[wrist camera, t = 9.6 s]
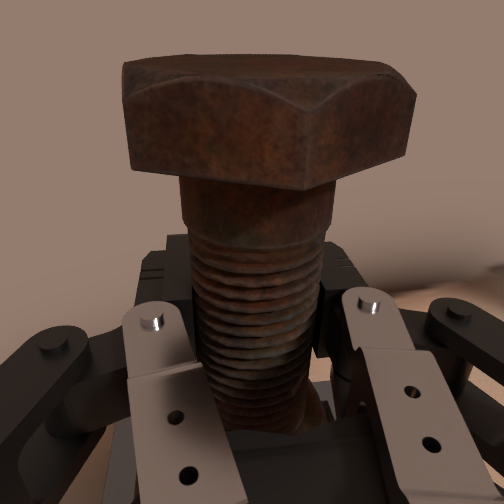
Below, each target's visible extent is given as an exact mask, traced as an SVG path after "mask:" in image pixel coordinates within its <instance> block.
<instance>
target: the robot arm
mask: <svg viewBox="0 0 504 504" xmlns="http://www.w3.org/2000/svg"><path fill="white" fill-rule="evenodd" d="M188 238H189V236H188V234H176V235H167V243H166V250H163V251H151V252H150V253H149V254H148V255H147V256H146V257H145V258H144V259H143V260H142V265H141V272H140V277H139V282H138V288H137V293H136V299H135V305H134V307H133V308H132V309H130V310H129V311H128V312H127V313H126V314H125V316H124V317H123V320H122V325H121V326H120V327H118V328H116V329H115V330H112V331H110V332H107V333H104V334H101V335H97V336H94V337H90V338H88V337H87V334H86V333H85V331H84V330H82V329H81V328H78V327H75V326H56V327H52V328H49V329H46V330H43V331H41V332H39V333H37V334H35V335H34V336H32V337H31V338H30V339H28V340H27V341H26V342H25V343H24V344H23V345H22V346H21V347H20V348H19V349H17V350H16V351H15V352H14V353H13V354H12V355H11V356H10V357H9V358H8V359H7V360H6V361H4V362H3V363H2V364H1V365H0V504H58V503H59V502H60V500H61V499H62V497H63V496H64V494H65V492H66V491H67V489H68V488H69V486H70V485H71V483H72V482H73V480H74V479H75V477H76V476H77V474H78V472H79V471H80V469H81V468H82V466H83V465H84V463H85V462H86V460H87V459H88V457H89V456H90V454H91V452H92V451H93V449H94V448H95V446H96V445H97V443H98V442H99V440H100V439H101V437H102V436H103V434H104V432H105V430H106V427H107V425H110V424H112V423H115V422H117V421H120V420H122V419H125V418H128V417H130V416H131V421H132V430H133V439H134V447H135V456H136V465H137V474H138V483H139V494H138V495H137V496H136V497H135V499H134V500H133V501H132V503H131V504H504V489H503V488H502V487H500V486H499V485H497V484H496V483H494V482H493V481H492V479H491V476H490V474H489V472H488V470H487V468H486V466H485V464H484V462H483V460H484V461H486V462H487V463H488V464H489V465H490V466H491V467H492V468H494V469H495V470H496V471H497V472H498V473H499V474H501V475H502V476H503V477H504V406H502V405H501V404H500V403H498V402H497V401H496V400H494V399H493V398H492V397H490V396H489V395H488V394H486V393H485V392H483V391H482V390H481V389H479V388H478V387H477V386H475V385H474V384H473V383H471V382H470V381H469V380H468V378H469V375H470V373H471V370H472V368H473V365H474V366H475V367H477V368H478V369H479V370H481V371H482V372H484V373H485V374H487V375H488V376H489V377H491V378H492V379H494V380H495V381H497V382H498V383H499V384H501V385H502V386H504V322H503V321H501V320H500V319H498V318H496V317H494V316H493V315H491V314H489V313H487V312H486V311H484V310H482V309H481V308H479V307H477V306H475V305H473V304H471V303H469V302H467V301H464V300H460V299H456V298H439V299H436V300H434V301H432V302H431V304H430V306H429V309H428V313H427V312H419V311H412V310H405V309H400V308H398V307H397V305H396V303H395V301H394V299H393V298H392V297H390V296H389V295H388V294H386V293H384V292H383V291H380V290H378V289H374V288H369V286H368V285H367V284H366V282H365V281H364V279H363V278H362V276H361V275H360V274H359V272H358V271H357V269H356V268H355V267H354V265H353V263H352V262H351V260H349V258H348V256H347V255H346V253H345V252H344V250H343V249H342V248H340V247H339V246H337V245H336V244H334V243H332V242H324V245H323V248H324V256H323V258H322V269H321V271H320V272H321V280H320V282H319V285H320V289H319V293H318V298H319V299H318V303H317V313H316V317H315V318H316V323H315V329H314V335H313V345H312V347H313V350H314V352H315V355H316V357H317V358H325V357H330V359H331V361H332V364H331V371H330V379H331V386H332V393H333V400H334V406H335V413H336V420H335V421H332V422H329V423H327V424H324V425H322V426H319V427H317V428H314V429H311V430H309V431H306V432H304V433H301V434H298V435H287V434H278V433H270V432H261V431H252V430H236V431H227V432H225V430H224V427H223V424H222V421H221V418H220V415H219V413H218V410H217V407H216V404H215V401H214V398H213V395H212V392H211V389H210V386H209V383H208V380H207V377H206V374H205V371H204V368H203V365H202V363H201V362H200V361H199V362H196V341H195V329H194V312H193V309H194V308H193V296H192V285H191V270H190V259H189V253H190V247H189V244H188Z"/></svg>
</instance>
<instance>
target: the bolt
mask: <svg viewBox="0 0 504 504" xmlns="http://www.w3.org/2000/svg"><path fill="white" fill-rule="evenodd" d="M416 97H417V94H416V92H415V91H414V90H413V89H412V87H411V86H410V85H409V84H408V83H407V81H406V80H405V78H404V77H403V76H402V75H401V74H400V73H398V72H397V71H396V70H395V69H393V68H392V67H391V66H389V65H387V64H384V63H381V62H376V61H365V60H354V59H343V58H329V57H312V56H299V55H283V54H281V55H279V54H277V55H276V54H269V55H268V54H219V55H217V54H216V55H195V54H184V55H173V56H163V57H152V58H145V59H140V60H135V61H129V62H124V64H123V67H122V102H123V110H124V118H125V126H126V134H127V141H128V149H129V157H130V165H131V169H132V170H134V171H142V172H150V173H159V174H166V175H174V176H179V184H180V196H181V207H182V219H183V221H184V224H185V225H186V226H187V228H188V236H189V238H188V244H189V247H190V253H189V259H190V270H191V285H192V296H193V308H194V309H193V312H194V329H195V341H196V357H197V362H199V361H200V362H201V363H202V365H203V368H204V371H205V374H206V377H207V380H208V383H209V386H210V389H211V392H212V395H213V398H214V401H215V404H216V407H217V410H218V413H219V415H220V418H221V421H222V424H223V427H224V430H225V432H227V431H236V430H252V431H261V432H270V433H278V434H287V435H298V434H301V433H304V432H306V431H309V430H311V429H314V428H317V427H319V426H322V425H324V424H327V423H328V420H327V416H326V413H325V411H324V408H323V405H322V403H321V400H320V397H319V395H318V393H317V391H316V389H315V387H314V386H313V384H312V382H311V381H310V380H309V378H308V377H309V368H310V360H311V351H312V345H313V335H314V329H315V323H316V318H315V317H316V313H317V303H318V299H319V298H318V293H319V289H320V285H319V282H320V280H321V272H320V271H321V269H322V258H323V256H324V248H323V245H324V240H325V234H326V231H327V230H328V228H329V226H330V225H331V220H332V212H333V203H334V195H335V187H336V180H337V179H340V178H343V177H345V176H348V175H351V174H354V173H357V172H360V171H363V170H365V169H368V168H371V167H374V166H377V165H380V164H383V163H385V162H388V161H391V160H394V159H397V158H400V157H402V156H404V155H405V152H406V147H407V142H408V137H409V132H410V126H411V122H412V117H413V112H414V107H415V102H416Z"/></svg>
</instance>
